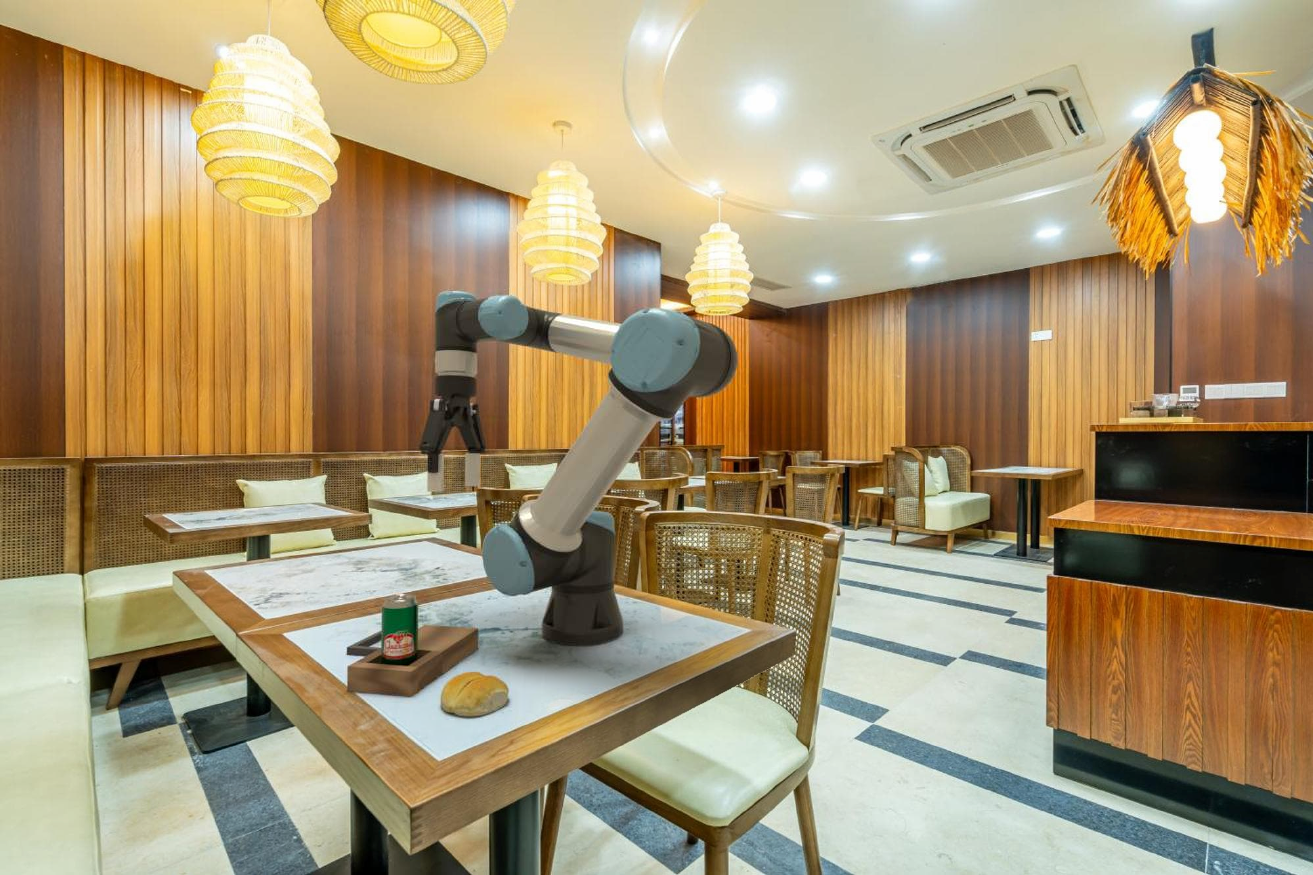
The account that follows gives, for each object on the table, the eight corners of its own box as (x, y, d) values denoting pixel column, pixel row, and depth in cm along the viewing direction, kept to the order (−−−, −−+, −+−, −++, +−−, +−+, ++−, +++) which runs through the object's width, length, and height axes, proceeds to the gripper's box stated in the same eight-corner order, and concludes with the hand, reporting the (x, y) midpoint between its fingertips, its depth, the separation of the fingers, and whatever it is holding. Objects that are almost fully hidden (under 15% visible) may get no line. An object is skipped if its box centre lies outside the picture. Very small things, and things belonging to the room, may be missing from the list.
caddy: (478, 648, 104) (478, 628, 104) (411, 696, 84) (411, 671, 84) (424, 644, 106) (425, 624, 106) (347, 690, 86) (347, 666, 86)
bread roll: (473, 687, 88) (474, 659, 88) (518, 701, 84) (518, 672, 84) (425, 707, 81) (425, 678, 81) (471, 725, 77) (471, 693, 77)
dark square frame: (425, 640, 108) (426, 633, 108) (395, 658, 99) (395, 651, 99) (380, 637, 110) (380, 630, 110) (346, 654, 101) (346, 647, 101)
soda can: (378, 686, 87) (379, 603, 87) (382, 673, 92) (383, 594, 92) (416, 682, 89) (417, 600, 89) (418, 669, 93) (419, 592, 93)
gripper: (469, 382, 127) (468, 483, 127) (398, 368, 102) (397, 493, 102) (503, 382, 125) (502, 484, 125) (439, 367, 101) (437, 494, 101)
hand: (454, 488), depth 114 cm, fingers open, 13 cm apart
